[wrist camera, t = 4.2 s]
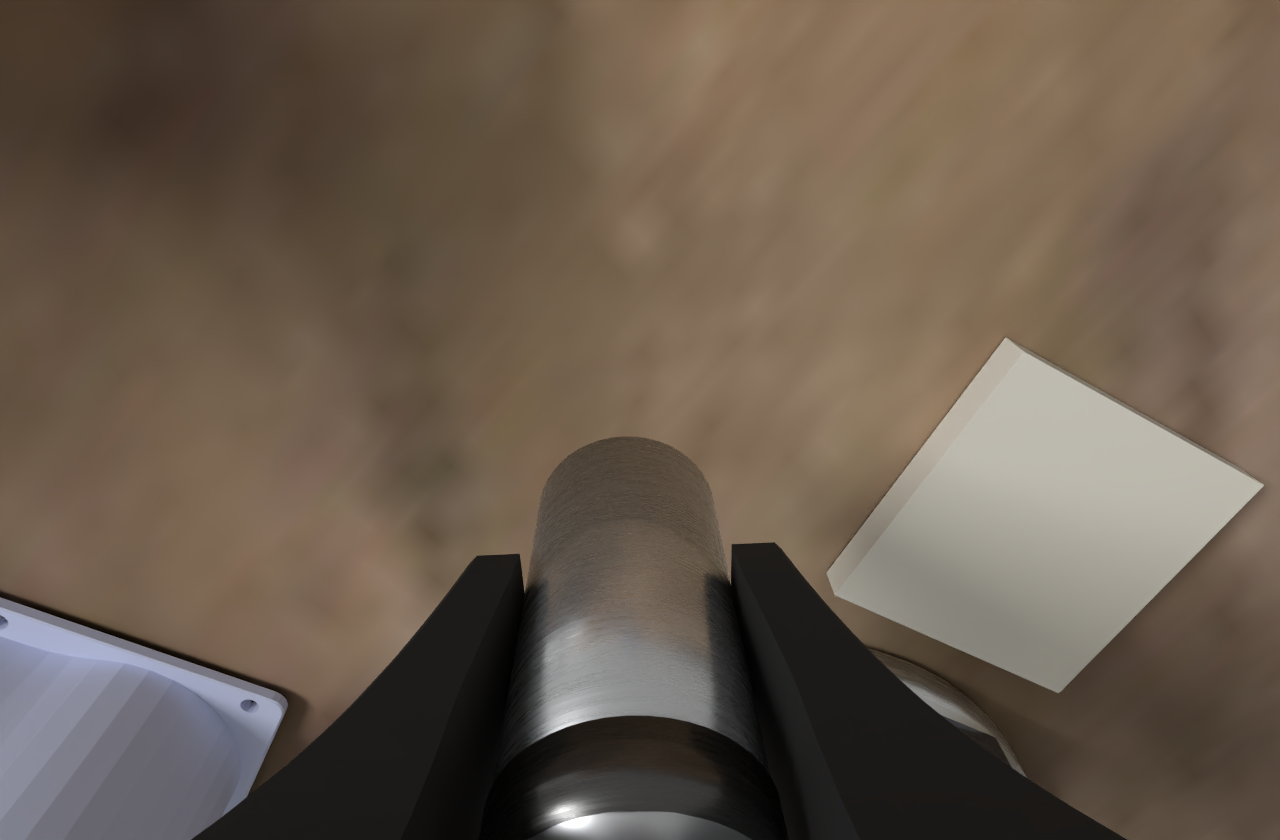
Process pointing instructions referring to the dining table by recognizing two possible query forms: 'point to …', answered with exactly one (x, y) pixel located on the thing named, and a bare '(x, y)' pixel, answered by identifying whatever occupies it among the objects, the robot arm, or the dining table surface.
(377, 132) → the dining table surface
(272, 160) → the dining table surface
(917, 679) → the collar wheel
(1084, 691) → the dining table surface
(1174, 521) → the rest
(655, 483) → the shiny metal cylinder
